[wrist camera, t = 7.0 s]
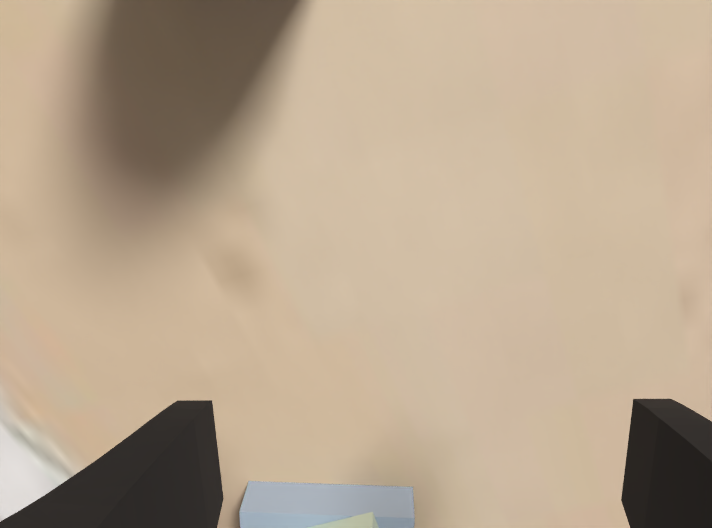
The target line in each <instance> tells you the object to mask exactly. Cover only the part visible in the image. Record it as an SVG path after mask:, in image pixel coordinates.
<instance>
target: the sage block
mask: <svg viewBox="0 0 712 528" xmlns="http://www.w3.org/2000/svg"><path fill="white" fill-rule="evenodd" d="M308 528H379V527H378V524H377V522H376V519H375V516H374V514H373V512H369V513H365V514H361V515H357V516H353V517H349V518H345V519H341V520H336V521H332V522H328V523H324V524H320V525H316V526H312V527H308Z"/></svg>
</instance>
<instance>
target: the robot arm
mask: <svg viewBox="0 0 712 528" xmlns="http://www.w3.org/2000/svg"><path fill="white" fill-rule="evenodd" d="M621 501H622V504H623V507H624V510H625V513H626V516H627V519H628V522H629V525H630V528H712V422H711V421H710V420H708V419H706V418H705V417H703V416H701V415H700V414H698V413H696V412H695V411H693V410H691V409H689V408H687V407H686V406H684V405H682V404H680V403H678V402H676V401H674V400H672V399H633V408H632V416H631V424H630V433H629V441H628V449H627V458H626V466H625V474H624V483H623V491H622V499H621ZM222 502H223V492H222V483H221V474H220V466H219V457H218V448H217V440H216V431H215V422H214V414H213V405H212V401H177V402H175V403H173V404H172V405H170V406H169V407H167V408H166V409H165V410H163V411H162V412H160V413H159V414H158V415H156V416H155V417H154V418H152V419H151V420H150V421H148V422H147V423H146V424H144V425H143V426H142V427H140V428H139V429H138V430H137V431H135V432H134V433H133V434H131V435H130V436H129V437H127V438H126V439H125V440H123V441H122V442H121V443H119V444H118V445H116V446H115V447H114V448H112V449H111V450H110V451H108V452H107V453H106V454H104V455H103V456H102V457H100V458H99V459H98V460H96V461H95V462H93V463H92V464H90V465H89V466H87V467H86V468H85V469H83V470H82V471H80V472H79V473H77V474H76V475H74V476H73V477H71V478H70V479H68V480H67V481H65V482H64V483H62V484H61V485H59V486H58V487H57V488H55V489H54V490H52V491H51V492H49V493H48V494H46V495H45V496H43V497H41V498H40V499H38V500H37V501H35V502H33V503H32V504H30V505H28V506H27V507H25V508H23V509H22V510H20V511H18V512H17V513H15V514H13V515H11V516H10V517H8V518H6V519H4V520H3V521H1V522H0V528H217V524H218V520H219V515H220V511H221V507H222Z"/></svg>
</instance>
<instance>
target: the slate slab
mask: <svg viewBox="0 0 712 528" xmlns="http://www.w3.org/2000/svg"><path fill="white" fill-rule="evenodd" d="M369 512H373V514H374V516H375V519H376V522H377V524H378V527H379V528H414V520H415V517H414V500H413V487H400V486H372V485H343V484H315V483H287V482H259V481H249V482H248V485H247V489H246V492H245V495H244V498H243V502H242V505H241V508H240V511H239V515H240V528H308V527H312V526H316V525H320V524H324V523H328V522H332V521H336V520H341V519H345V518H349V517H353V516H357V515H361V514H365V513H369Z"/></svg>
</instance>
